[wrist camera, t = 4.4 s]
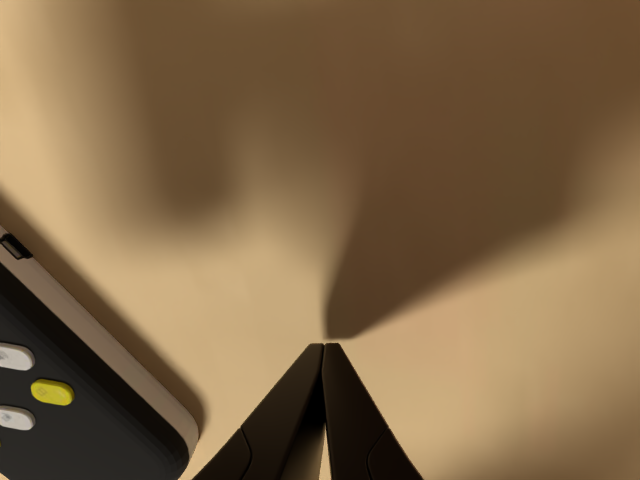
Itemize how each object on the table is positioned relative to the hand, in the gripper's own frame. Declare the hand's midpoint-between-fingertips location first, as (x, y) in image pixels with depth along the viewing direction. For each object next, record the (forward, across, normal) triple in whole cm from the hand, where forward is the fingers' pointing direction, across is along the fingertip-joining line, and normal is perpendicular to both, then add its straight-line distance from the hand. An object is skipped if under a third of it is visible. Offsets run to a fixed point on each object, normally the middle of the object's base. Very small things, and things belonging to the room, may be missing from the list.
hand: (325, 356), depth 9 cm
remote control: (+1, +10, 0) cm, 10 cm away
